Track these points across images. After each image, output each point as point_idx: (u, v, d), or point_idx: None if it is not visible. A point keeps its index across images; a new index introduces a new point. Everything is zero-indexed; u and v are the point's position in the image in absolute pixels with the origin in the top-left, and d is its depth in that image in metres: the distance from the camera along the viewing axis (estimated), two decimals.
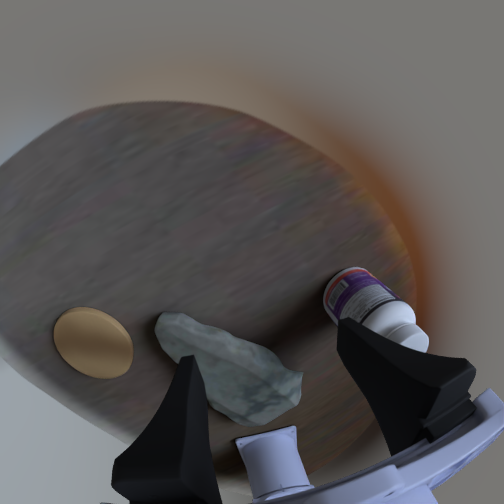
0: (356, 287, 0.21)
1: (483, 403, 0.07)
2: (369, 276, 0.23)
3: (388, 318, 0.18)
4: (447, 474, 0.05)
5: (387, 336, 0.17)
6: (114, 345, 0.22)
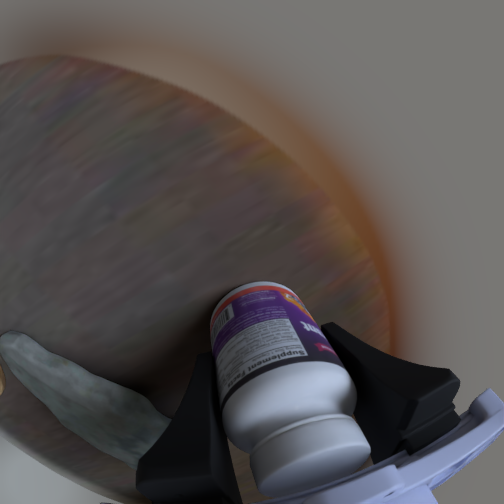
0: (242, 322, 0.12)
1: (483, 403, 0.07)
2: (278, 300, 0.13)
3: (276, 401, 0.08)
4: (447, 474, 0.05)
5: (266, 439, 0.07)
6: None
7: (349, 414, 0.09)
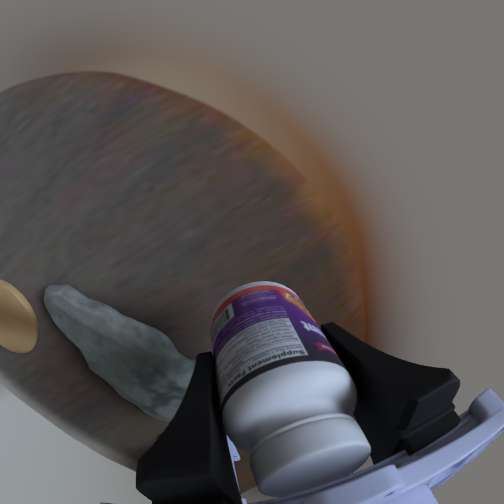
0: (242, 322, 0.12)
1: (483, 403, 0.07)
2: (278, 300, 0.13)
3: (277, 401, 0.08)
4: (447, 474, 0.05)
5: (266, 439, 0.07)
6: (19, 318, 0.19)
7: (349, 414, 0.09)
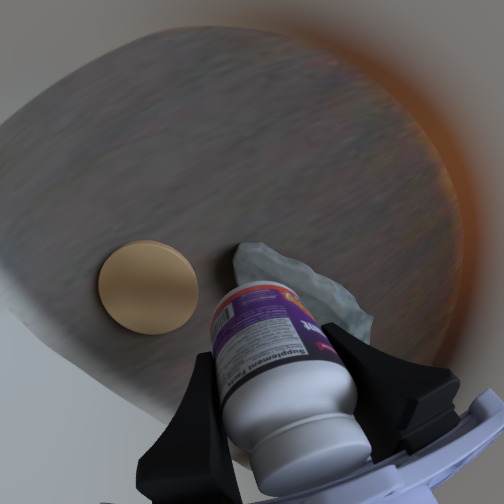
0: (242, 321, 0.12)
1: (483, 403, 0.07)
2: (279, 299, 0.13)
3: (277, 400, 0.08)
4: (447, 474, 0.05)
5: (267, 438, 0.07)
6: (177, 287, 0.21)
7: (350, 413, 0.09)
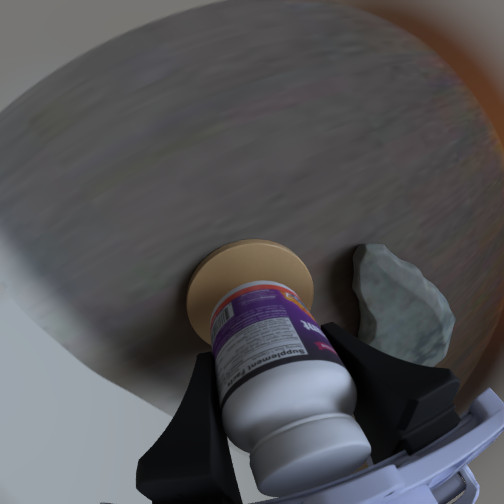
0: (242, 321, 0.12)
1: (483, 403, 0.07)
2: (278, 299, 0.13)
3: (276, 400, 0.08)
4: (447, 474, 0.05)
5: (266, 438, 0.07)
6: None
7: (349, 413, 0.09)
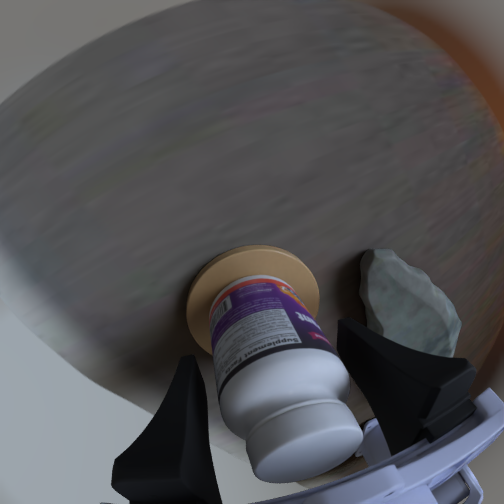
0: (240, 312, 0.12)
1: (483, 403, 0.07)
2: (274, 292, 0.14)
3: (271, 386, 0.09)
4: (447, 474, 0.05)
5: (261, 422, 0.08)
6: None
7: (343, 401, 0.10)
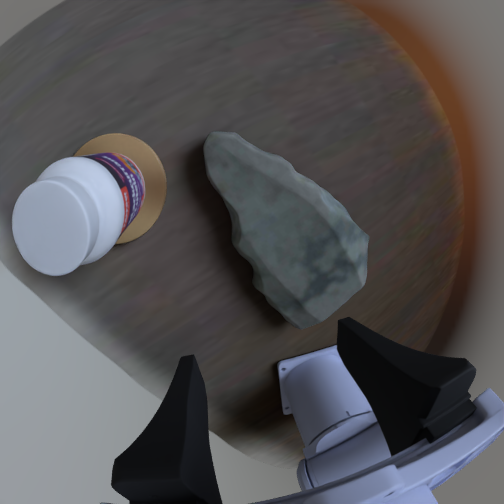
0: None
1: (483, 403, 0.07)
2: (104, 153, 0.15)
3: (46, 175, 0.10)
4: (447, 474, 0.05)
5: None
6: None
7: (106, 208, 0.11)
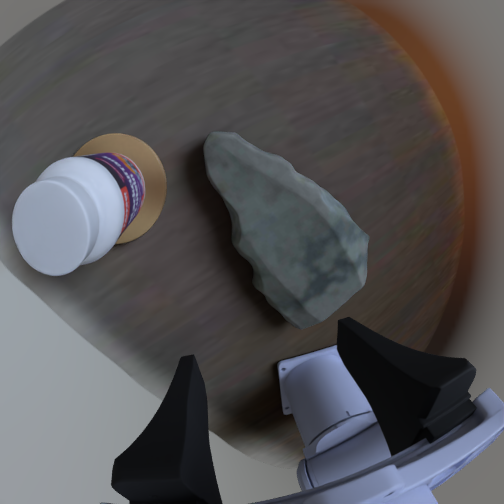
0: None
1: (483, 403, 0.07)
2: (104, 153, 0.15)
3: (46, 175, 0.10)
4: (447, 474, 0.05)
5: None
6: None
7: (106, 208, 0.11)
